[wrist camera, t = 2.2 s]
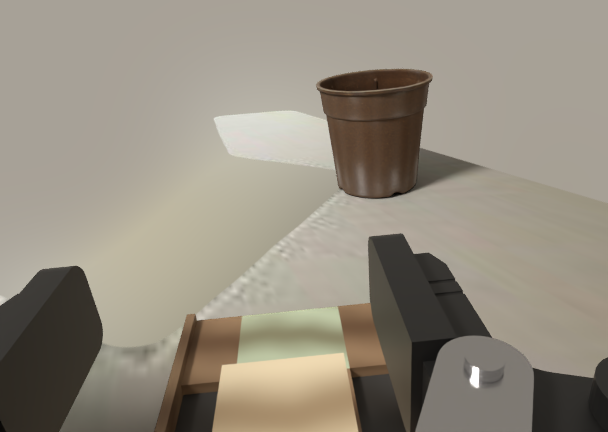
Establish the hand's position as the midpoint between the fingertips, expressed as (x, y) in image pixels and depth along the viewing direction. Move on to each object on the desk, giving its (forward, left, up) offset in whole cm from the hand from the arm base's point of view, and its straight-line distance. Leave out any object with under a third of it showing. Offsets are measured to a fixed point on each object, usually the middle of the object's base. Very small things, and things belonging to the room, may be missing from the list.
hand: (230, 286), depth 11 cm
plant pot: (-31, +52, -22) cm, 64 cm away
